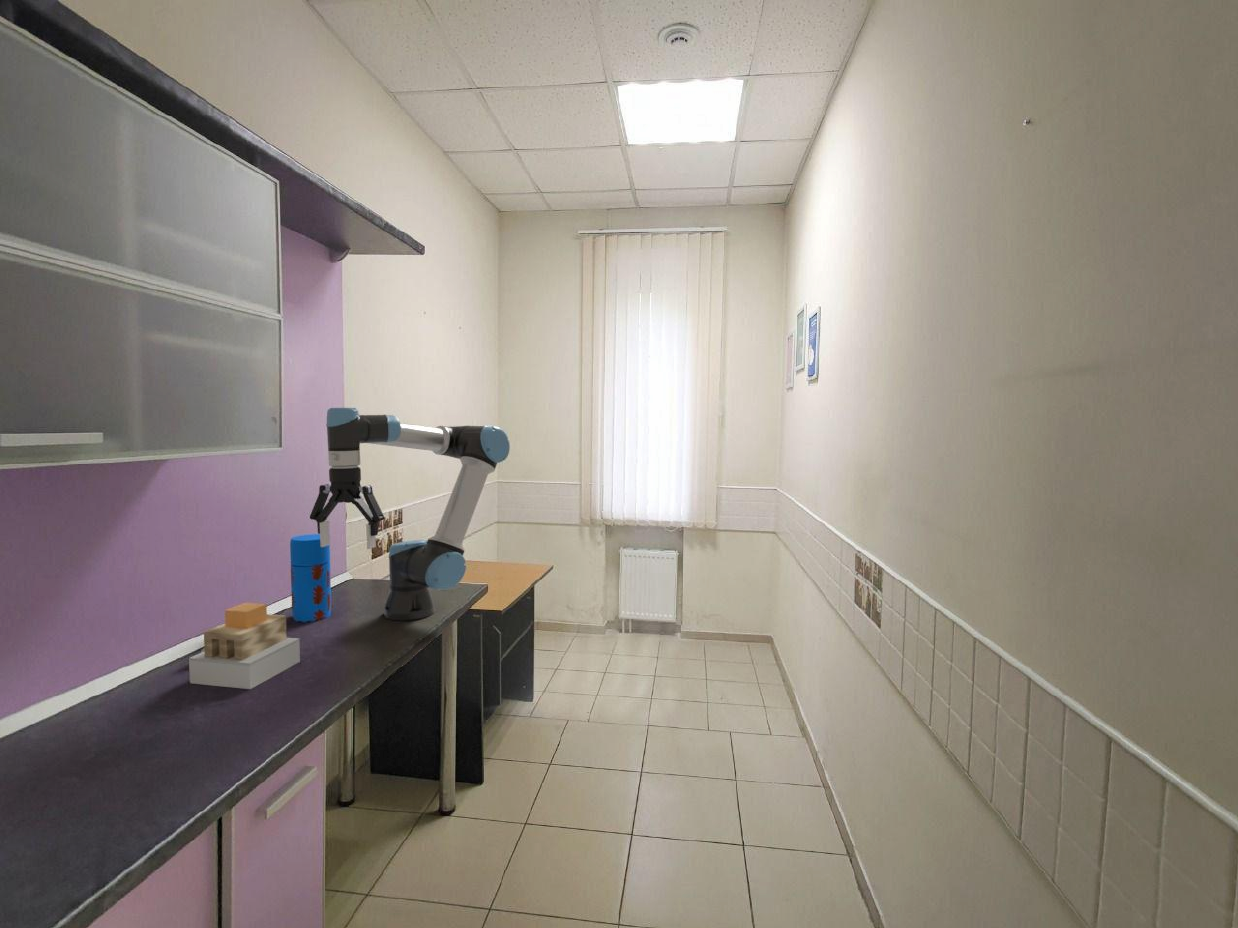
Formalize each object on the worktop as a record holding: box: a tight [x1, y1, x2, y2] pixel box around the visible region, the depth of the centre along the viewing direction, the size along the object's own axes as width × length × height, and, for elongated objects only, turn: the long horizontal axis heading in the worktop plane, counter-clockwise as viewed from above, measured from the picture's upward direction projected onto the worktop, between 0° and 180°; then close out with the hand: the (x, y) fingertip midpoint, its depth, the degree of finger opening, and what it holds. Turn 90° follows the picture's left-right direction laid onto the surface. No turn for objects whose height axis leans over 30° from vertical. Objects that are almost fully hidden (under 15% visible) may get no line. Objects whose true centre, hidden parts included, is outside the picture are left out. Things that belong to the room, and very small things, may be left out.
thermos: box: [289, 533, 332, 623], centre depth 185 cm, size 11×11×25 cm
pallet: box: [203, 613, 288, 660], centre depth 144 cm, size 14×10×6 cm
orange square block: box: [224, 602, 268, 629], centre depth 144 cm, size 6×6×4 cm
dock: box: [188, 637, 301, 690], centre depth 144 cm, size 16×16×6 cm
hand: (348, 547), depth 157 cm, fingers open, 13 cm apart
